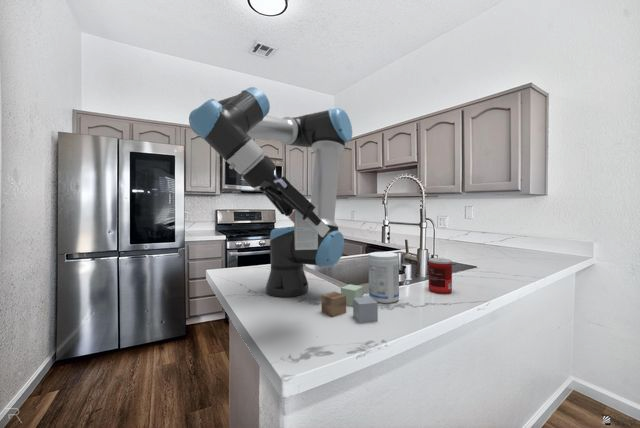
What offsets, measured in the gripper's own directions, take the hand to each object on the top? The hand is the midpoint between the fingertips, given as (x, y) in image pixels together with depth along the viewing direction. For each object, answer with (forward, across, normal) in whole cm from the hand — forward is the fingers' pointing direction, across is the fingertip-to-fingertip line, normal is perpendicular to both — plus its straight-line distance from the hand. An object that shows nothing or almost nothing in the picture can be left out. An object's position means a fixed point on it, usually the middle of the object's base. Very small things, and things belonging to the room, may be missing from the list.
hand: (316, 231), depth 71 cm
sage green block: (+29, -9, -5) cm, 31 cm away
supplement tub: (+37, -7, +3) cm, 37 cm away
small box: (+1, 0, -5) cm, 5 cm away
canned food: (+53, -4, +19) cm, 56 cm away
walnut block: (+22, -5, -11) cm, 26 cm away
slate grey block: (+26, +3, -8) cm, 27 cm away
